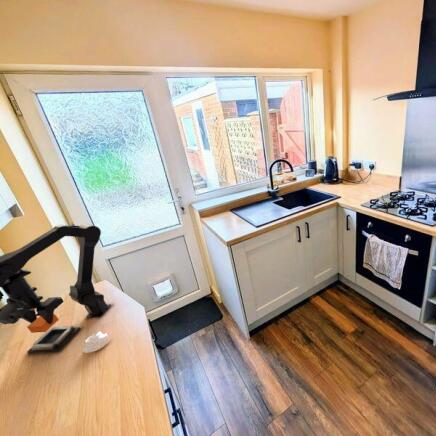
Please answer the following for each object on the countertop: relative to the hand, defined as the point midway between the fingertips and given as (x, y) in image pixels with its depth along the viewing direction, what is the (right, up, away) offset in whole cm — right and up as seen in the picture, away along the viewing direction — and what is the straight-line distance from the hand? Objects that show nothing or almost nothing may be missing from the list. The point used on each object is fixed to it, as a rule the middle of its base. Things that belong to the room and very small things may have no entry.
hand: (43, 323), depth 90 cm
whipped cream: (+20, -8, 0) cm, 21 cm away
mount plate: (+1, -8, +3) cm, 9 cm away
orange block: (0, -1, 0) cm, 1 cm away
